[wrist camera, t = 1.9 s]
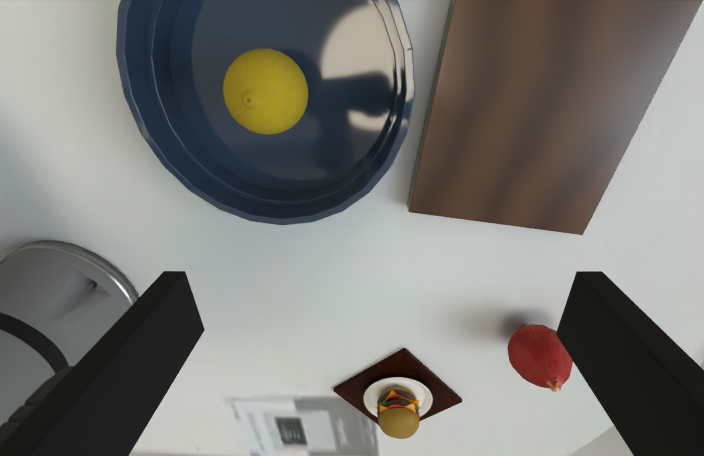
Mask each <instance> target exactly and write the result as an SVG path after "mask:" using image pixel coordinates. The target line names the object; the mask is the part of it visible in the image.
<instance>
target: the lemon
mask: <svg viewBox="0 0 704 456" xmlns="http://www.w3.org/2000/svg"><path fill="white" fill-rule="evenodd" d="M223 94H224V100H225V103H226V106H227V108H228V110H229V112H230V114H231V115H232V117H233V118H234V119H235V120H236V121H237V122H238V123H239V124H240V125H242V126H243V127H245V128H246V129H248V130H250V131H253V132H255V133H259V134H266V135H269V134H278V133H281V132H283V131H286V130H288V129H290V128H291V127H292V126H294V125H295V124H296V123H297V122H298V121H299V120H300V118H301V117H302V116H303V114H304V111H305V109H306V106H307V102H308V86H307V82H306V79H305V76H304V74H303V72H302V71H301V69H300V68H299V66H298V65H297V64H296V63H295V62H294V61H293V60H292V59H291V58H290V57H288V56H287V55H285V54H283V53H282V52H280V51H276V50H273V49H265V48H258V49H254V50H251V51H247V52H245V53H244V54H242V55H241V56H239V57H238V58H236V59H235V61H234V62H233V63H232V64H231V66H230V67H229V68H228V70H227V73H226V75H225V78H224V84H223Z"/></svg>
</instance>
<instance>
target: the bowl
mask: <svg viewBox="0 0 704 456" xmlns="http://www.w3.org/2000/svg"><path fill="white" fill-rule="evenodd" d="M118 9H119V10H118V20H117V43H116V56H117V61H118V67H119V72H120V77H121V82H122V87H123V92H124V95H125V98H126V101H127V103H128V105H129V107H130V110H131V112H132V114H133V117H134V119H135V121H136V124H137V126H138V128H139V131H140V133H141V135H142V136H143V137H144V139H145V140H146V142H147V143H148V145H149V146H150V147H151V149H152V150H153V152H154V153H155V155H156V156H157V157H158V159H159V160H160V162H161V163H162V165H163V166H164V167H165V168H166V169H167V170H168V171H170V172H171V173H172V174H173V175H174V176H175V177H176V178H177V179H178V180H179V181H180V182H181V183H182V184H183V185H184V186H185V187H186V188H187V189H188V190H190V191H191V192H192V193H194V194H196V195H197V196H199V197H200V198H202V199H204V200H205V201H207V202H208V203H210V204H212V205H213V206H215V207H216V208H218V209H220V210H222V211H225V212H228V213H230V214H233V215H236V216H238V217H241V218H244V219H247V220H249V221H254V222H262V223H270V224H277V225H288V224H298V223H307V222H315V221H317V220H320V219H323V218H325V217H328V216H331V215H333V214H336V213H339V212H342V211H343V210H345V209H346V208H348V207H349V206H351V205H352V204H354V203H355V202H356V201H358V200H359V199H361V198H362V197H364V196H365V195H366V194H368V193H369V192H370V191H371V190H372V189H373V188H374V186H375V185H376V184H377V183H378V182H379V180H380V179H381V178H382V177H383V176H384V174H385V173H386V172H387V171H388V170H389V169H390V167H391V166H392V164H393V162H394V160H395V158H396V156H397V153H398V151H399V149H400V147H401V145H402V143H403V141H404V139H405V136H406V134H407V132H408V127H409V122H410V116H411V111H412V106H413V101H414V96H415V93H414V92H415V83H414V65H413V49H412V44H411V41H410V38H409V35H408V31H407V28H406V25H405V22H404V18H403V15H402V12H401V9H400V5H399V3H398V1H397V0H121V1H120V4H119V7H118ZM258 48H265V49H273V50H276V51H280V52H282V53H283V54H285V55H287V56H288V57H290V58H291V59H292V60H293V61H294V62H295V63H296V64H297V65H298V66H299V68H300V69H301V71H302V72H303V74H304V76H305V79H306V82H307V86H308V102H307V106H306V109H305V111H304V114H303V116H302V117H301V118H300V120H299V121H298V122H297V123H296V124H295V125H294V126H292V127H291V128H290V129H288V130H286V131H283V132H281V133H278V134H269V135H266V134H259V133H255V132H253V131H250V130H248V129H246V128H245V127H243V126H242V125H240V124H239V123H238V122H237V121H236V120H235V119H234V118H233V117H232V115H231V114H230V112H229V110H228V108H227V106H226V103H225V100H224V94H223V84H224V78H225V75H226V73H227V70H228V68H229V67H230V66H231V64H232V63H233V62H234V61H235V59H236V58H238V57H239V56H241V55H242V54H244V53H245V52H247V51H251V50H254V49H258Z"/></svg>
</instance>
